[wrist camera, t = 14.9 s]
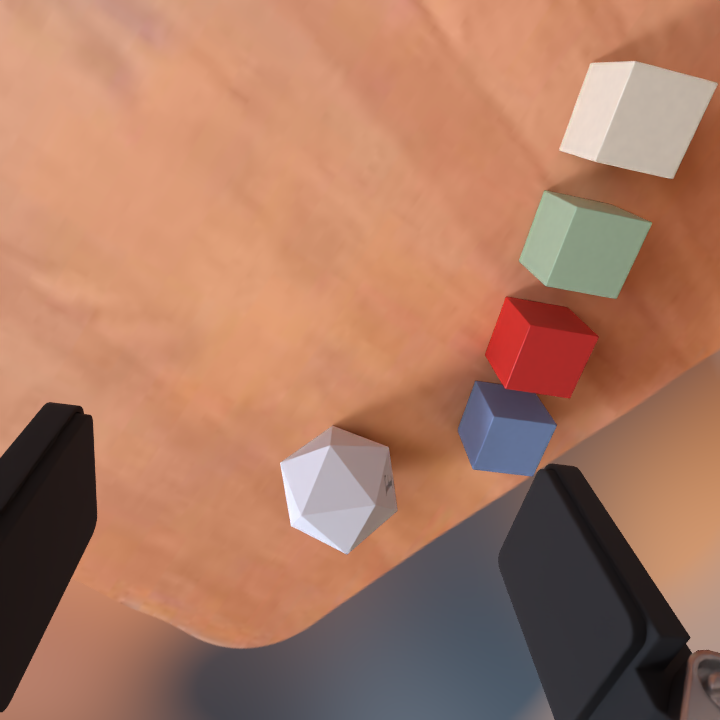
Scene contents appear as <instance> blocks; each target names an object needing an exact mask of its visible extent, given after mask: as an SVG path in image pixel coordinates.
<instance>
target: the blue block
mask: <svg viewBox="0 0 720 720" xmlns="http://www.w3.org/2000/svg"><path fill="white" fill-rule="evenodd" d="M556 426H557V424H556V423H555V421H554V420H553V418H552V417H551V415H550V414H549V412H548V411H547V410H546V408H545V407H544V405H543V404H542V402H541V401H540V399H539V398H538V396H537V395H536V393H530V392H523V391H516V390H510V389H505V388H504V386H503V385H501V384H494V383H488V382H481V381H475V383H474V386H473V389H472V392H471V394H470V397H469V400H468V403H467V405H466V408H465V411H464V414H463V416H462V419H461V422H460V425H459V427H458V433H459V435H460V438H461V440H462V443H463V446H464V448H465V451H466V453H467V456H468V458H469V461H470V463H471V466H472V469H474V470H482V471H491V472H499V473H508V474H516V475H525V476H533V475H534V473H535V471H536V469H537V467H538V465H539V462H540V460H541V458H542V456H543V454H544V452H545V450H546V448H547V445H548V443H549V441H550V439H551V437H552V435H553V433H554V431H555V429H556Z"/></svg>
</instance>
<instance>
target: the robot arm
mask: <svg viewBox="0 0 720 720" xmlns="http://www.w3.org/2000/svg"><path fill="white" fill-rule="evenodd" d="M96 521H97V500H96V478H95V457H94V435H93V419H92V416H91V415H87V414H84V412H83V409H82V407H81V406H76V405H68V404H60V403H52V402H49V403H46V404H45V405H44V406H43V407H42V408H41V410H40V411H39V412H38V413H37V414H36V416H35V417H34V418H33V419H32V420H31V422H30V423H29V424H28V425H27V426H26V428H25V429H24V430H23V431H22V433H21V434H20V435H19V436H18V437H17V439H16V440H15V441H14V442H13V443H12V445H11V446H10V447H9V448H8V449H7V451H6V452H5V453H4V454H3V455H2V457H1V458H0V712H3V711H4V710H5V709H6V708H7V706H8V705H9V703H10V701H11V699H12V698H13V695H14V693H15V691H16V689H17V687H18V685H19V683H20V681H21V679H22V677H23V675H24V673H25V671H26V669H27V667H28V665H29V663H30V661H31V659H32V656H33V655H34V653H35V651H36V649H37V647H38V645H39V643H40V641H41V638H42V636H43V634H44V632H45V630H46V628H47V626H48V624H49V622H50V620H51V618H52V616H53V614H54V612H55V610H56V608H57V606H58V604H59V602H60V600H61V598H62V596H63V594H64V592H65V590H66V587H67V586H68V583H69V582H70V579H71V577H72V575H73V573H74V571H75V569H76V567H77V565H78V563H79V561H80V559H81V557H82V555H83V553H84V551H85V549H86V547H87V545H88V543H89V541H90V539H91V537H92V535H93V532H94V529H95V526H96ZM498 562H499V568H500V572H501V574H502V577H503V580H504V582H505V585H506V588H507V591H508V594H509V596H510V599H511V602H512V604H513V607H514V610H515V612H516V615H517V618H518V621H519V623H520V626H521V629H522V631H523V634H524V637H525V640H526V642H527V645H528V648H529V651H530V653H531V656H532V659H533V662H534V664H535V667H536V670H537V673H538V675H539V678H540V681H541V683H542V686H543V689H544V692H545V694H546V697H547V700H548V702H549V705H550V708H551V711H552V713H553V716H554V719H555V720H720V653H718V652H714V651H710V650H698V651H696V652H694V653H693V654H692V652H691V651H690V649H689V648H688V646H687V645H686V643H687V642H688V640H689V639H690V636H689V635H688V633H687V632H686V630H685V629H684V627H683V626H682V624H681V623H680V621H679V620H678V618H677V617H676V615H675V613H674V612H673V611H672V609H671V607H670V606H669V604H668V603H667V601H666V600H665V598H664V597H663V595H662V594H661V592H660V591H659V589H658V588H657V586H656V585H655V583H654V582H653V580H652V579H651V577H650V576H649V574H648V573H647V571H646V570H645V568H644V567H643V565H642V564H641V562H640V561H639V559H638V558H637V556H636V555H635V553H634V552H633V550H632V548H631V547H630V545H629V544H628V543H627V541H626V539H625V538H624V536H623V535H622V533H621V532H620V530H619V529H618V527H617V526H616V524H615V523H614V522H613V520H612V518H611V517H610V515H609V514H608V512H607V511H606V510H605V508H604V506H603V505H602V503H601V502H600V500H599V499H598V497H597V496H596V494H595V493H594V491H593V490H592V488H591V487H590V485H589V484H588V482H587V480H586V479H585V478H584V476H583V474H582V473H581V471H580V470H579V469H578V468H577V467H574V466H567V465H559V464H548V465H547V466H546V467H545V469H540V470H539V471H538V472H537V474H536V476H535V478H534V480H533V483H532V485H531V487H530V489H529V491H528V493H527V495H526V497H525V499H524V501H523V504H522V506H521V508H520V510H519V512H518V514H517V516H516V518H515V520H514V523H513V525H512V527H511V529H510V531H509V533H508V535H507V537H506V539H505V541H504V544H503V546H502V548H501V550H500V553H499V557H498Z"/></svg>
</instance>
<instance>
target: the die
mask: <svg viewBox="0 0 720 720" xmlns="http://www.w3.org/2000/svg"><path fill="white" fill-rule="evenodd" d="M280 464H281V470H282V476H283V482H284V487H285V493H286V499H287V505H288V511H289V516H290V522H291V526H292V527H294V528H296V529H298V530H300V531H302V532H304V533H306V534H308V535H310V536H312V537H314V538H316V539H318V540H320V541H322V542H324V543H326V544H328V545H330V546H332V547H334V548H335V549H337V550H339V551H341V552H343V553H345V554H348V553H349V552H351V551H352V550H353V549H354V548H355V547H356V546H358V545H359V544H360V543H361V542H362V541H363V540H364V539H366V538H367V537H368V536H369V535H370V534H371V533H372V532H374V531H375V530H376V529H377V528H378V527H379V526H381V525H382V524H383V523H384V522H385V521H386V520H387V519H389V518H390V517H391V516H392V515H393V514H394V513H395V512H397V511H398V510H397V502H396V495H395V488H394V481H393V474H392V466H391V459H390V452H389V447H387V446H385V445H382V444H379V443H377V442H374V441H372V440H369V439H366V438H364V437H361V436H358V435H356V434H353V433H351V432H348V431H345V430H343V429H340V428H338V427H335V426H331V427H330V428H328V429H327V430H326V431H324V432H323V433H321V434H320V435H319V436H317V437H316V438H314V439H313V440H312V441H310V442H309V443H307V444H306V445H304V446H303V447H302V448H300V449H299V450H297V451H296V452H295V453H293V454H292V455H290V456H289V457H288V458H286V459H285V460H283V461H282V462H281V463H280Z"/></svg>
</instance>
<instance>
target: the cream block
mask: <svg viewBox="0 0 720 720" xmlns="http://www.w3.org/2000/svg"><path fill="white" fill-rule="evenodd" d="M717 85H718V83H717V82H713V81H710V80H706V79H702V78H698V77H695V76H691V75H687V74H683V73H679V72H676V71H672V70H668V69H664V68H661V67H657V66H653V65H649V64H646V63H642V62H638V61H621V62H599V63H591V64H590V66H589V69H588V72H587V74H586V77H585V80H584V83H583V85H582V88H581V91H580V94H579V96H578V99H577V102H576V105H575V107H574V110H573V113H572V116H571V118H570V121H569V124H568V127H567V129H566V132H565V135H564V138H563V141H562V143H561V146H560V149H559V150H560V151H562V152H566V153H569V154H572V155H575V156H578V157H582V158H585V159H588V160H591V161H594V162H598V163H603V164H607V165H612V166H616V167H620V168H625V169H629V170H634V171H638V172H642V173H647V174H651V175H656V176H660V177H664V178H669V179H673V178H674V176H675V174H676V172H677V170H678V168H679V166H680V163H681V161H682V159H683V157H684V155H685V153H686V151H687V149H688V146H689V144H690V142H691V140H692V138H693V136H694V134H695V132H696V129H697V127H698V125H699V123H700V121H701V119H702V117H703V115H704V112H705V110H706V108H707V106H708V104H709V102H710V100H711V98H712V96H713V93H714V91H715V89H716V87H717Z"/></svg>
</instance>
